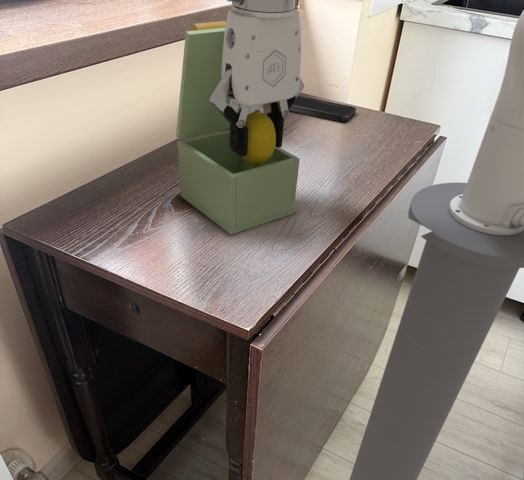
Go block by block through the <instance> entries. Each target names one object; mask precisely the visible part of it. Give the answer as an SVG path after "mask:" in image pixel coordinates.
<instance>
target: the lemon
mask: <svg viewBox="0 0 524 480" xmlns="http://www.w3.org/2000/svg"><path fill="white" fill-rule="evenodd" d="M244 126H246V127H248V149H247V155H246V156H244V157H242V156H241V157H242V158H243V159H244V160H245V161H246V162H248V163H250V164H251V165H252V166H253V167H258V166H259V165H260V164H262V163H265V162H266V161H267V160H268V159H269V158H270V157H271V156H272V154H273V152H274V149H275V144H276V133H275V128H274V124H273V122H272V120H271V119H270V118H269V117H268V116H267V113H265V112H264V113H261V111H260V110H255V111H254V112H252V113H250V114H248V115H247V118H246V122H245V125H244Z"/></svg>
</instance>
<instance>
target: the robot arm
mask: <svg viewBox="0 0 524 480" xmlns="http://www.w3.org/2000/svg"><path fill="white" fill-rule="evenodd" d="M226 1H227V2H229V3H230V2H231V9H229V10H228V11H227V17H226V21H225V22H226V27H225V34H224V42H223V53H222V74H221V80H220V82H219V84H218V85H217V87H216V89H215V90H214V92H213V94H212V95H211V97H210V103H211V104H212V105H213V106H214V107H215V108H217V109H218V110H219V111H220V113H221V114H222V115H223V116H224V117H225V118H226V120H227V121H228V122H230V129H229V130H230V147H231V150H232V151H234V152H235V153H237V154H239V155H240V156H242V157H244V156H246V155H247V149H248V127H246V126H244V125H245V122H246V118H247V115H248V111H249V108H250V107H251V106H257V105H263V106H264V105H267V104H268V106H269V112H266V115H267V116H268V117H269V118H270V119H271V120H272V122H273V124H274V128H275V133H276V144H275V147H277V148H282V146H283V137H284V125H285V119H287V118H288V116H289V114H290V111H289V109H290V108H291V106H292V105H293V103H294V102H295V98H297V96H300V94H301V93H302V91H303V90H304V88H305V83H304V81H303V79H302V78H301V68H302V67H301V66H302V30H301V17H300V11H298V10H297V9H295V5H296V0H226ZM509 46H510V47H509V49H508V56H507V61H506V62H507V63H506V66H505V71H504V74H503V79H502V82H501V85H500V89H499V92H498V95H497V97H496V101H495V103H494V106H493V110H492V112H491V115H490V116H489V120H488V122H487V126H486V128H485V131H484V134H483V137H482V139H481V142H480V145H479V148H478V151H477V154H476V156H475V159H474V162H473V166H472V168H471V170H470V174H469V175H468V176H469V177H468V179H467V182H466V183H467V185H466V188H465V191H464V193H463V194H462V195H458V196H456V197H454V198H453V199H452V200H451V202H450V205H449V208H448V209H449V213H450V215H451V216H452V217H453V218H454V219H455V220H456V221H457V222H458V223H460V224H462V225H463V226H465V227H467V228H469V229H472V230H475V231H478V232H481V233H485V234H490V235H499V236H508V235H514V234H518V233H520V232H522V231H524V9H523V10H522V12H521V14H519V17H518V20H517V21H516V24H515V26H514V29H513V32H512V36H511V40H510V44H509ZM226 97H228V98H231V100H230V104H229V105H228V104H227V102H226ZM239 105H240V108H239V112H238V114H237V111H238V107H239Z"/></svg>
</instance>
